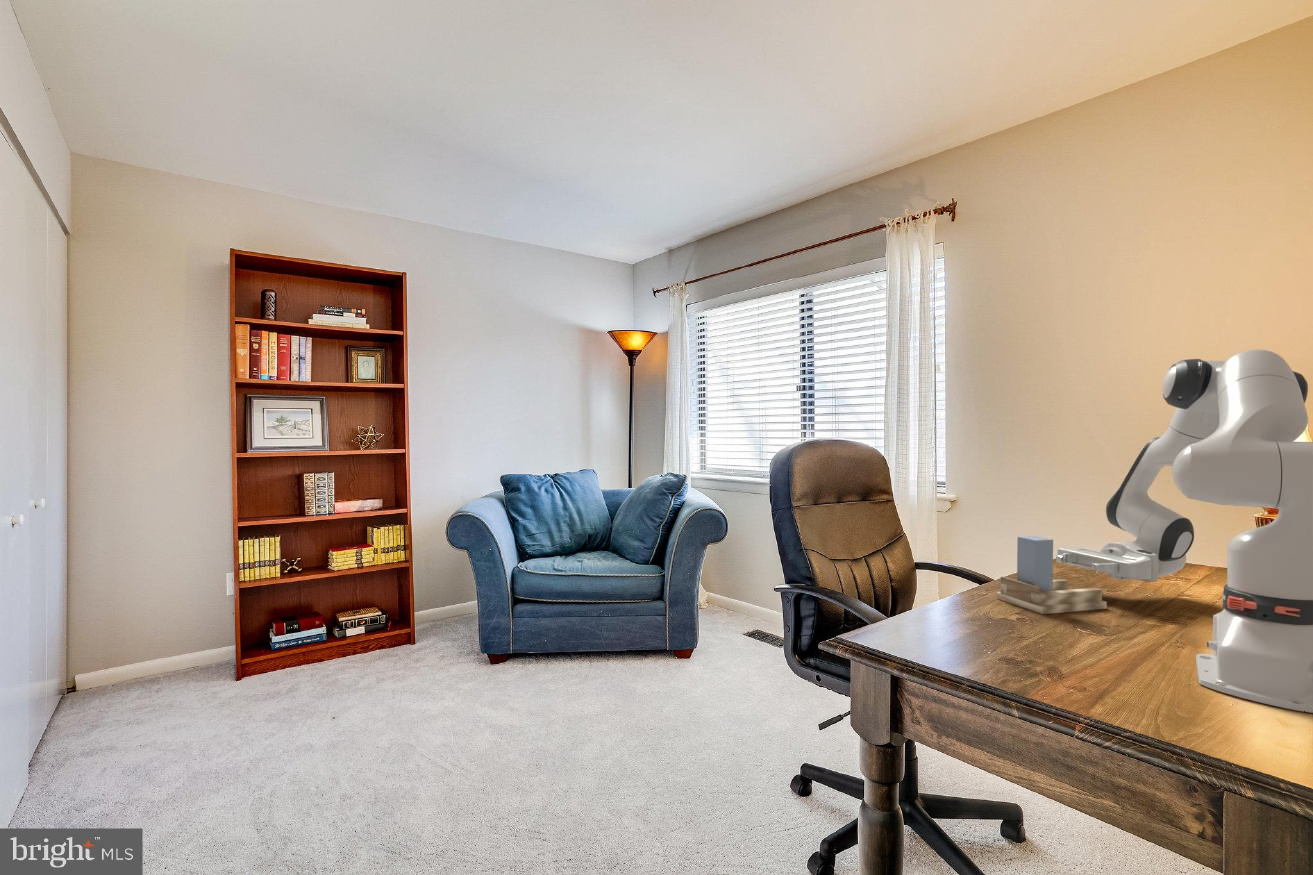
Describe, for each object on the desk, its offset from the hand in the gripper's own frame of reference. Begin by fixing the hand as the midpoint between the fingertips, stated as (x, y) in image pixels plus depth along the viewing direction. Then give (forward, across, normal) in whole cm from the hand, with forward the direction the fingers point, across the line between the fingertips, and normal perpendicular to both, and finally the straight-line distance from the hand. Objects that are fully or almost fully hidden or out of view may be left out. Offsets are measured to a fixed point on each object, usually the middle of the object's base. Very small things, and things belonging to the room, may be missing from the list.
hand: (1076, 563), depth 147 cm
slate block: (+12, 0, +8) cm, 14 cm away
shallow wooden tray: (+7, 0, +9) cm, 12 cm away
